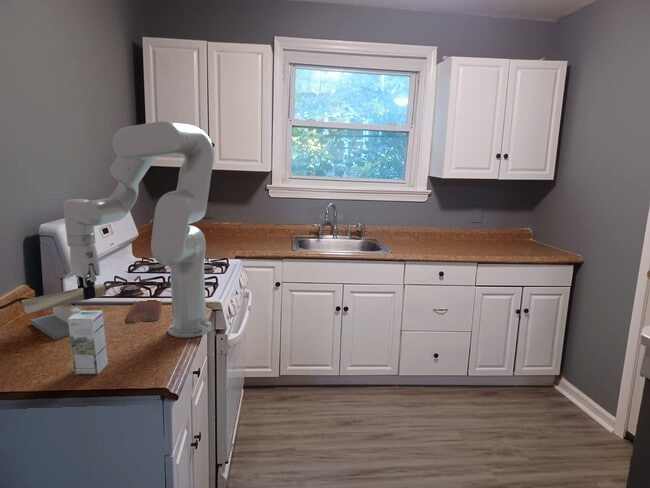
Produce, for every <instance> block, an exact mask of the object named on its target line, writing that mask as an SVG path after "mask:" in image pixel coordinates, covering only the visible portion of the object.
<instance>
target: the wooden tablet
mask: <svg viewBox="0 0 650 488" xmlns="http://www.w3.org/2000/svg"><path fill="white" fill-rule="evenodd" d="M134 302H135V301H134ZM134 302H133V304H132V306H131V308H130V310H129V312H128V315H127V317H126V320H125V323H126V324H137V323H139V322H140V323H155V322H158V321H159V319H160V318H161V314H162V309H163V307H162V302H163V301H162V302H161V301H157V300H147V301H139V302H135V303H134Z"/></svg>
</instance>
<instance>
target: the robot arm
mask: <svg viewBox="0 0 650 488" xmlns="http://www.w3.org/2000/svg"><path fill="white" fill-rule="evenodd" d="M111 144H112V149H113V152H114V153H115V154H116V155H117V157H116V158H115V160H114V161H113V163H112V164H111V166H110V168H109V171H110V174H111V176H112V177H113V178H114V179H115V180H116V181H117V182H118V183H117V186H116V187H115V189H114V191H113V192H112V194H111V195H110V197H105V198H99V199H92V200H91V199H90V200H89V199H86V198H71V199H66V200H65V201H64V202H63V205H62V208H63V215H64V224H65V235H66V243H67V244H66V245H67V246H68V247H69V259H70V260H69V261H70V269H71V273H72V274H73V275H75V278H76V284H77V289H78V288H83V293H84V299H85V300H84V301H87V300H91V299H95V297H96V296H95V285H96V284H95V282H96V281H97V277H98V276H100V275H101V269H100V263H99V256H98V252H97V248H96V234H95V227H97V226H102V225H106V224H110V223H116V222H119V221H121V220H123V219H124V218H125V217H126V216H127V215H128V214H129V212H130V211H131V210H132V208H133V207H134V205H135V204H136V202H137V199H138V196H139V192H140V191H139V190H140V188H139V187H140V186H139V184H140V182H141V181H142V180H143V178H144V176H145V175H146V173H147V172H148V170H149V169H150V168H151V166H152V165H153V163H154V161H155V160H156V159H157V158H158V157H159V156H181V155H182V156H183V157H184V158H183V159H184V160H183V163H182V164H181V166H180V169H179V172H178V180H177V186H176V190H172V191H168V192H166V193H164V194H163V195H161V197H160V198H159V199H158V201H157V203H156V206H155V208H154V215H153V222H152V223H153V224H152V231H151V240H150V241H151V242H150V249H151V254H152V256H153V258H154V260H155V261H156V262H157V263H159V265H162V266H166V267H170V270H169V271H170V273H169V275H170V276H169V277H170V292H171V293H170V294H171V309H172V323H171V324H170V325H169V326H168V328H167V332H168V334H169V335H170V336H171V337H175V338H178V339H179V338H182V339H189V338H190V339H191V338H195V337H200V336H203V335H206V334H207V333H209V332H211V330H212V329H213V323H212V322H211V321H209V320H208V316H207V307H206V306H207V305H206V304H207V303H206V287H205V286H206V285H205V282H206V281H205V279H206V277H205V256H206V249H207V247H206V246H207V243H206V242H207V241H206V238H205V234H204V233H203V231H202V230H201V229H200V228H198V227H197V226H195V225H190V224H193V223H196V222H198V221H201V220H202V219H203V218H204V217H205V215H206V214H207V213H206V212H207V206H208V200H209V194H210V193H209V192H210V187H211V179H212V171H213V166H214V161H215V160H214V159H215V158H214V157H215V150H214V145H213V142H212V140H211V139H210V136H208V134H206V132H205V131H204V130H202V129H200V128H199V127H198V126H196V125H194V124H189V123H183V122H176V121H175V122H174V121H167V120H161V121H154V122H153V121H152V122H148V123H141V124H136V125H128V126H124V127H121V128H120V129H118V130H117V131H116V132H115V134H113V137H112V143H111ZM96 298H97V297H96Z"/></svg>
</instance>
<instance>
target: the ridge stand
mask: <svg viewBox="0 0 650 488" xmlns="http://www.w3.org/2000/svg"><path fill="white" fill-rule="evenodd" d="M78 311H85V310H84V309H82V308H80V307H76V306H73V305H72V304H66V305H62V306H58V307H53V308H52V312H53V313H52V314H49V315H44V316H40V317H37V318H31V319H30V323H31V326H33V327H35V328H36V329H37V330H39V331H40V332H42V333H44V334H45V335H46V336H48V337H50V338H51V339H53V340H54V341H55V340H59V339H61V338H65V337H66V338H67V337H70V332H69V325H68V318H69V317H71V316H72V315H73V314H74V313H76V312H78ZM103 322H104V323H105V321H104V320H103Z"/></svg>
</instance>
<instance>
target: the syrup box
mask: <svg viewBox="0 0 650 488" xmlns="http://www.w3.org/2000/svg"><path fill="white" fill-rule="evenodd" d="M103 321H104V314H103V310H84V311H78V312H76V313H74V314H73V315H72V316H71V317H69V318H68V325H69V332H70V336H69V338H70V339H69V340H70V348H71V356H72V364H73V365H72V366H73V372H74V375H75V376H76V375H79V376H81V375H84V376H85V375H99V374H100V373H101V372H102V371H103V370H104V369H105V367H107V366H108V354H107V353H108V352H107V345H106V344H107V343H106V336H105V321H104V322H103Z"/></svg>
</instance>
